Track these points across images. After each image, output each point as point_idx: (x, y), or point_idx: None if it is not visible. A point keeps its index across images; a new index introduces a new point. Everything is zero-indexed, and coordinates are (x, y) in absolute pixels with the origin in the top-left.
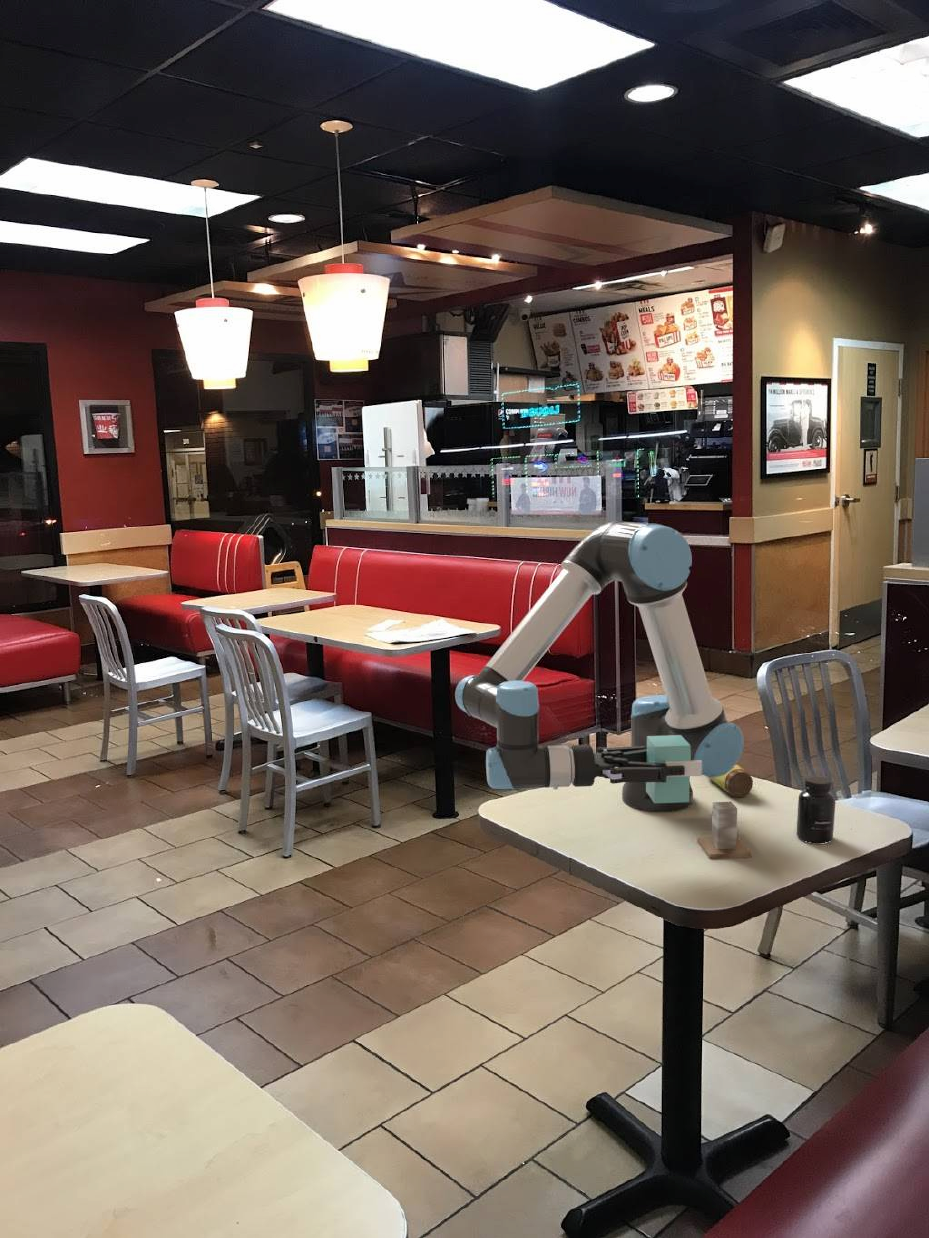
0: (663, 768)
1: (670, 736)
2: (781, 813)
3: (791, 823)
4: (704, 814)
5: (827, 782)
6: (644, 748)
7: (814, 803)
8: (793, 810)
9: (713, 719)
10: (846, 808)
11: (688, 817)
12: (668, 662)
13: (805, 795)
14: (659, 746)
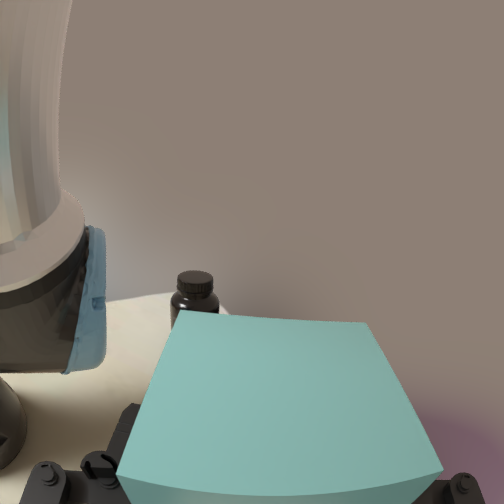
0: (470, 479)
1: (187, 349)
2: (109, 343)
3: (142, 349)
4: (58, 412)
5: (207, 274)
6: (64, 494)
7: (214, 309)
8: (109, 331)
9: (84, 224)
10: (131, 300)
11: (54, 437)
12: (10, 2)
13: (197, 305)
14: (430, 446)
